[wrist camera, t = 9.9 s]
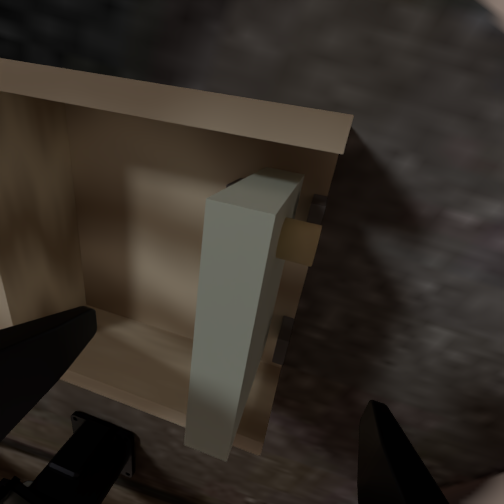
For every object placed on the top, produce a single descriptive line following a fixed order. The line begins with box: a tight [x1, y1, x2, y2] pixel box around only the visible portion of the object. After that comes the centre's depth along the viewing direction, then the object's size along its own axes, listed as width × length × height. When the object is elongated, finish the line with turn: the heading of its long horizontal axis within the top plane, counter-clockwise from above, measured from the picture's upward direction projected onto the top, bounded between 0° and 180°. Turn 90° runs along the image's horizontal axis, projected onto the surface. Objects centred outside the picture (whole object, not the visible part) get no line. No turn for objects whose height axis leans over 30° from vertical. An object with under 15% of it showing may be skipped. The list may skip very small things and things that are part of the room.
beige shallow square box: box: [0, 58, 354, 456], centre depth 15 cm, size 15×15×6 cm
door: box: [184, 167, 322, 462], centre depth 12 cm, size 10×3×7 cm, turn 171°
